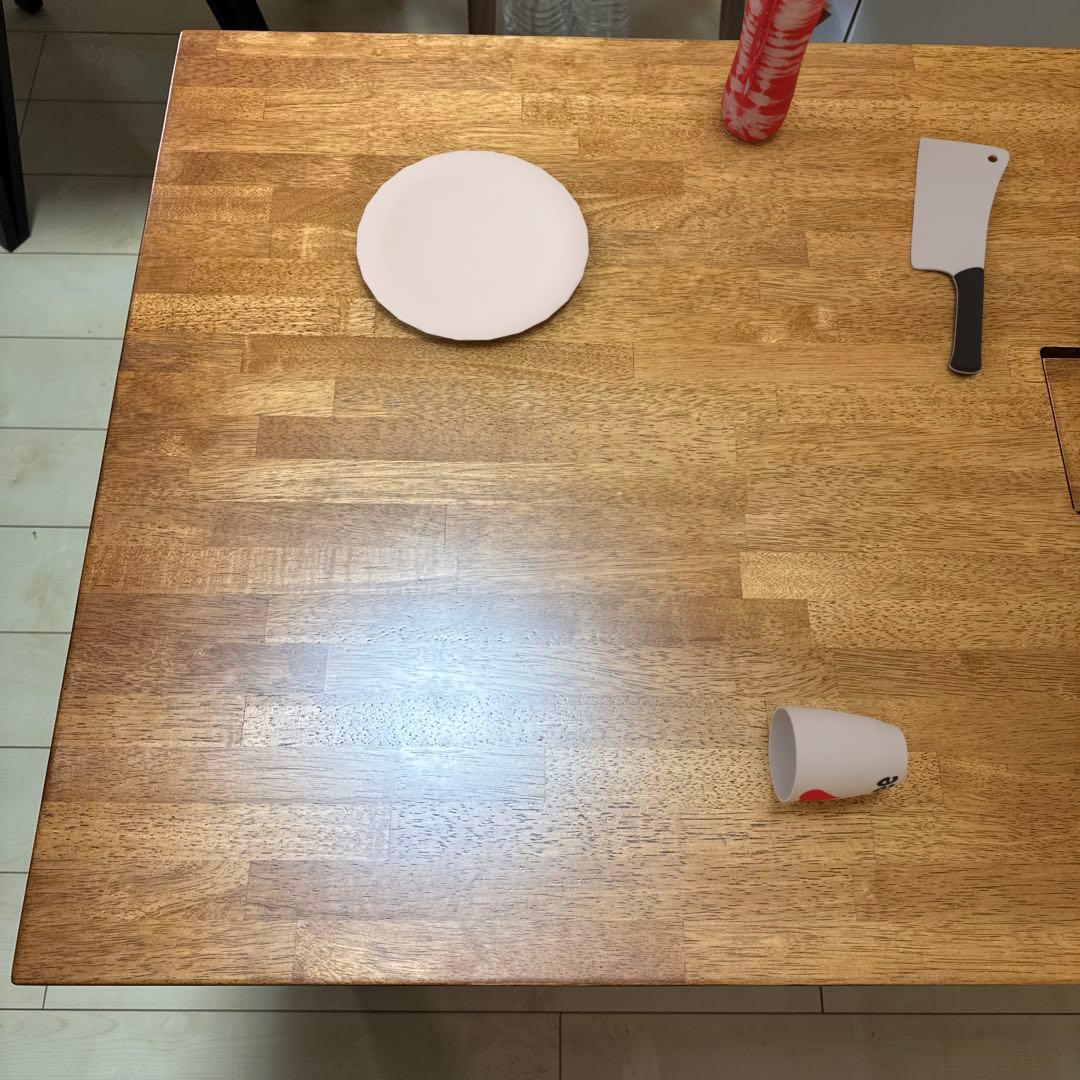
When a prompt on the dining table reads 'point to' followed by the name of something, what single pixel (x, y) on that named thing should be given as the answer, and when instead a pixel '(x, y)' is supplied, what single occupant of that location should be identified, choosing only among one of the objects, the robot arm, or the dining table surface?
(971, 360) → the kitchen cleaver
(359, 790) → the dining table surface
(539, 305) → the plate
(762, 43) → the water bottle
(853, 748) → the cup
